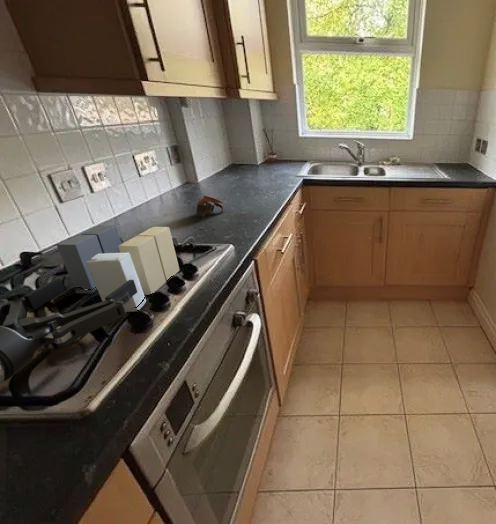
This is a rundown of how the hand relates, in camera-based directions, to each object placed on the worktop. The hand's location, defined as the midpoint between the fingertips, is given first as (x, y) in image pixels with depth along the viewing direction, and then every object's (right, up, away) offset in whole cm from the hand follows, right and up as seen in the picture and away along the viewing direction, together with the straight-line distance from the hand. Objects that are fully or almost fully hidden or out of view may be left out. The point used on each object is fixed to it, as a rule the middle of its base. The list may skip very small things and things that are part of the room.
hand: (97, 285), depth 63 cm
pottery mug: (-11, +23, +68) cm, 73 cm away
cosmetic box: (0, -6, +8) cm, 10 cm away
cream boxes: (0, 0, +18) cm, 18 cm away
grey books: (-13, 0, +18) cm, 22 cm away
